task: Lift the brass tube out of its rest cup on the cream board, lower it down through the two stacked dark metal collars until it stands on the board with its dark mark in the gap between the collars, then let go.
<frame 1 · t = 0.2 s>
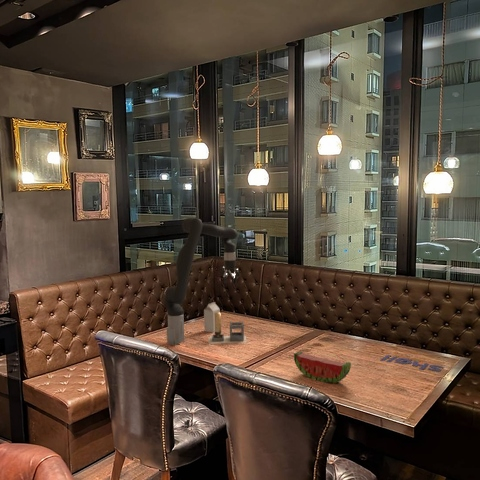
hand: (230, 283, 284), 29 cm above the table, tool pointing down, fingers open, 8 cm apart
milk carton: (212, 332, 275), on the table
fruit slice: (321, 379, 200), on the table
brass tube: (218, 339, 256), point 1 cm above the table, touching base board
collar stand: (227, 331, 255), on the base board, point 6 cm above the table
signage: (411, 364, 217), on the table
base board: (225, 341, 256), on the table
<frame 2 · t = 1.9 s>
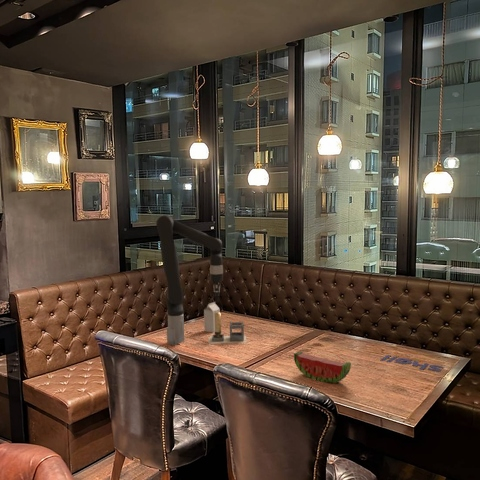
hand: (217, 300, 254), 25 cm above the table, tool pointing down, fingers open, 8 cm apart
nothing on the table moved.
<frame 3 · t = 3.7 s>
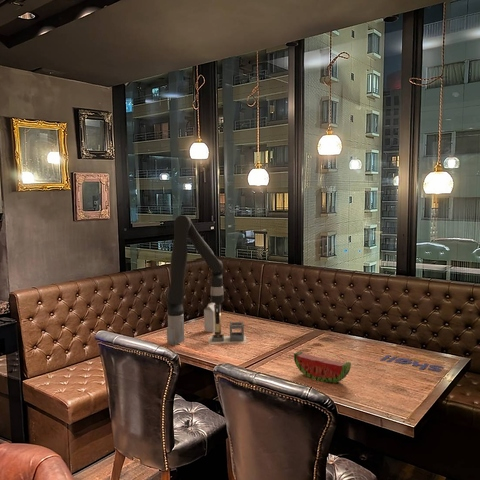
hand: (217, 322, 255), 12 cm above the table, tool pointing down, fingers closed on brass tube, 3 cm apart
brass tube: (218, 339, 255), point 2 cm above the table, touching base board, gripper
everything else where it was.
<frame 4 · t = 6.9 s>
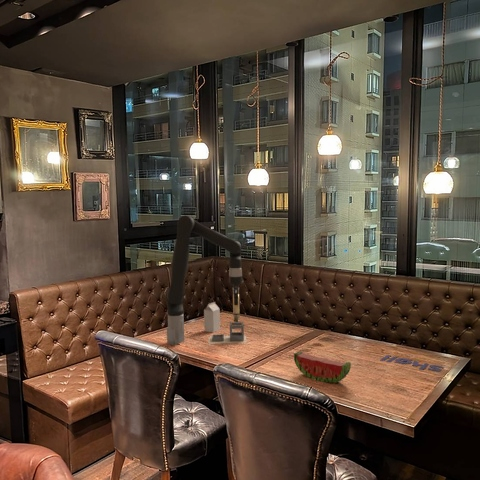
hand: (236, 304, 254), 22 cm above the table, tool pointing down, fingers closed on brass tube, 3 cm apart
brass tube: (236, 321, 255), point 12 cm above the table, touching gripper
everything else where it was.
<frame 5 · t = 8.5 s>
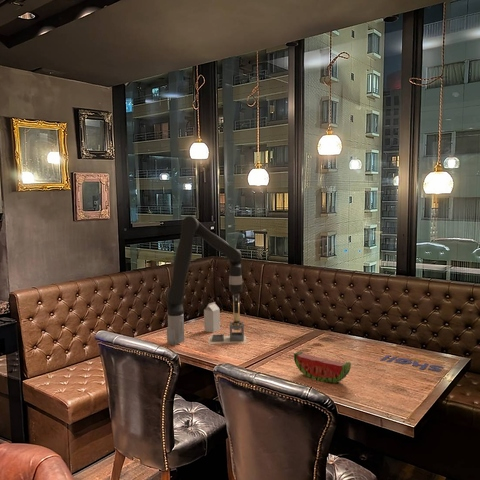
hand: (236, 311, 254), 18 cm above the table, tool pointing down, fingers closed on brass tube, 3 cm apart
brass tube: (236, 329, 255), point 8 cm above the table, touching gripper
everything else where it was.
when the fingers open (13 cm above the table, at t = 9.9 s): brass tube stays where it is, resting on base board.
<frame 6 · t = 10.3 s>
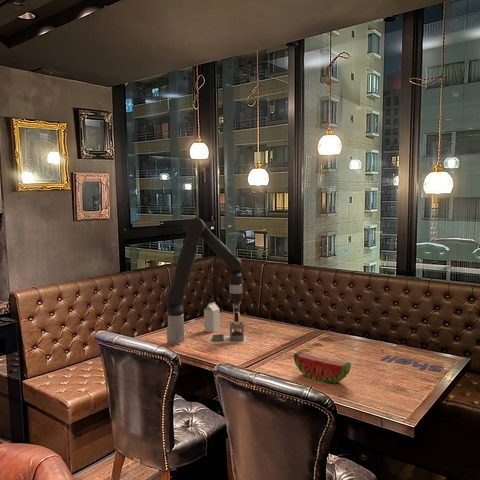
hand: (236, 319, 255), 13 cm above the table, tool pointing down, fingers open, 6 cm apart
brass tube: (236, 339, 256), point 2 cm above the table, touching base board
everything else where it was.
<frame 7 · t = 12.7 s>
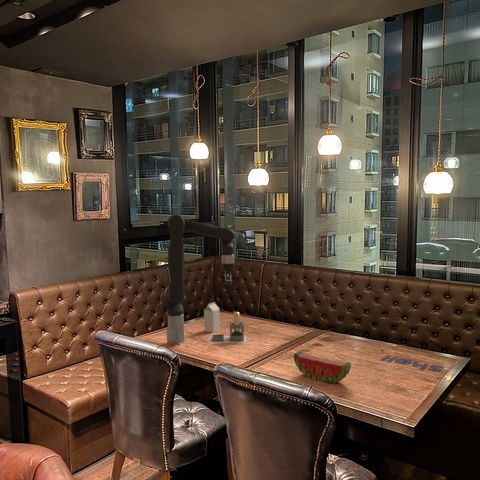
hand: (228, 289, 260), 30 cm above the table, tool pointing down, fingers open, 8 cm apart
nothing on the table moved.
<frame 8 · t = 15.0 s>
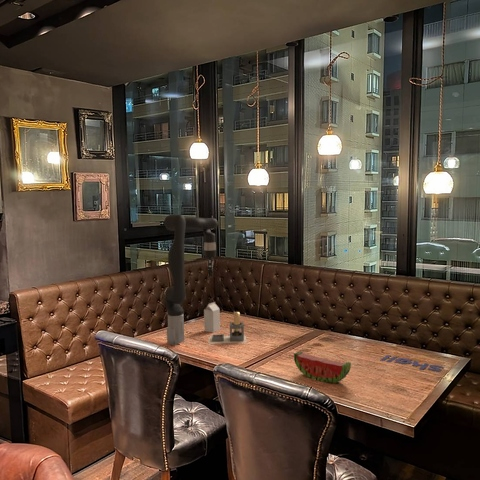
hand: (210, 274, 278), 36 cm above the table, tool pointing down, fingers open, 8 cm apart
nothing on the table moved.
at the end: brass tube 0.0 cm from the target spot on the collar stand, point 1.5 cm above the collar stand's base; brass tube tilted 1°; the gripper is holding nothing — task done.
